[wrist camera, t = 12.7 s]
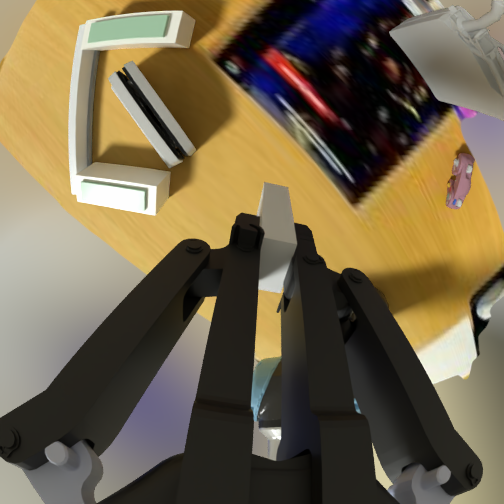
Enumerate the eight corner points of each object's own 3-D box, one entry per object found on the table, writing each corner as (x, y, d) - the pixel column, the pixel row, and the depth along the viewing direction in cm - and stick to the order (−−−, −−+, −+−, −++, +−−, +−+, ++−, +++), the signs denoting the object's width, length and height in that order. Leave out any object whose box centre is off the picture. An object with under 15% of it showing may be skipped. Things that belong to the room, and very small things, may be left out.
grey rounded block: (112, 87, 30) (92, 75, 22) (138, 68, 30) (125, 50, 21) (171, 169, 38) (167, 179, 30) (197, 151, 38) (200, 155, 29)
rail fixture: (168, 197, 41) (153, 217, 36) (84, 184, 40) (63, 201, 34) (195, 20, 25) (181, 9, 20) (94, 27, 24) (69, 23, 18)
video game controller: (451, 146, 33) (459, 152, 28) (473, 155, 32) (484, 163, 27) (438, 196, 39) (443, 211, 34) (459, 205, 37) (466, 220, 32)
